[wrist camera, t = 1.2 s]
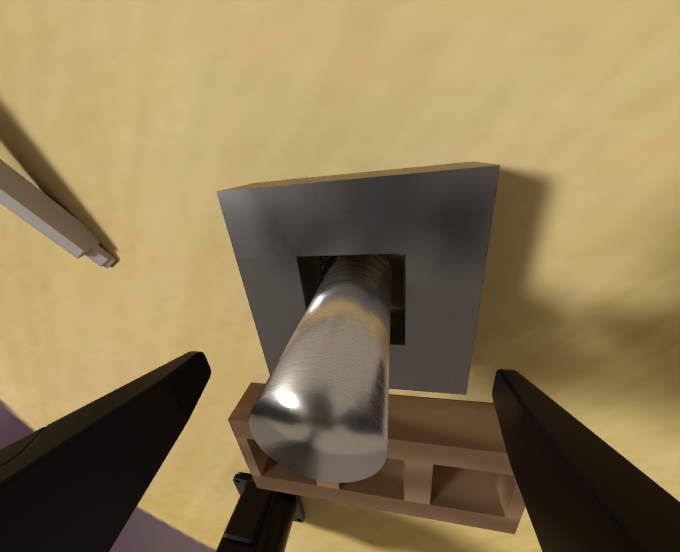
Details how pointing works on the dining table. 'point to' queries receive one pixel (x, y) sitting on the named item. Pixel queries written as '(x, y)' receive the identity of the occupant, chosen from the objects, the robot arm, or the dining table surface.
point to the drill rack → (413, 465)
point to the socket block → (373, 238)
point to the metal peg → (333, 379)
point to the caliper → (49, 217)
